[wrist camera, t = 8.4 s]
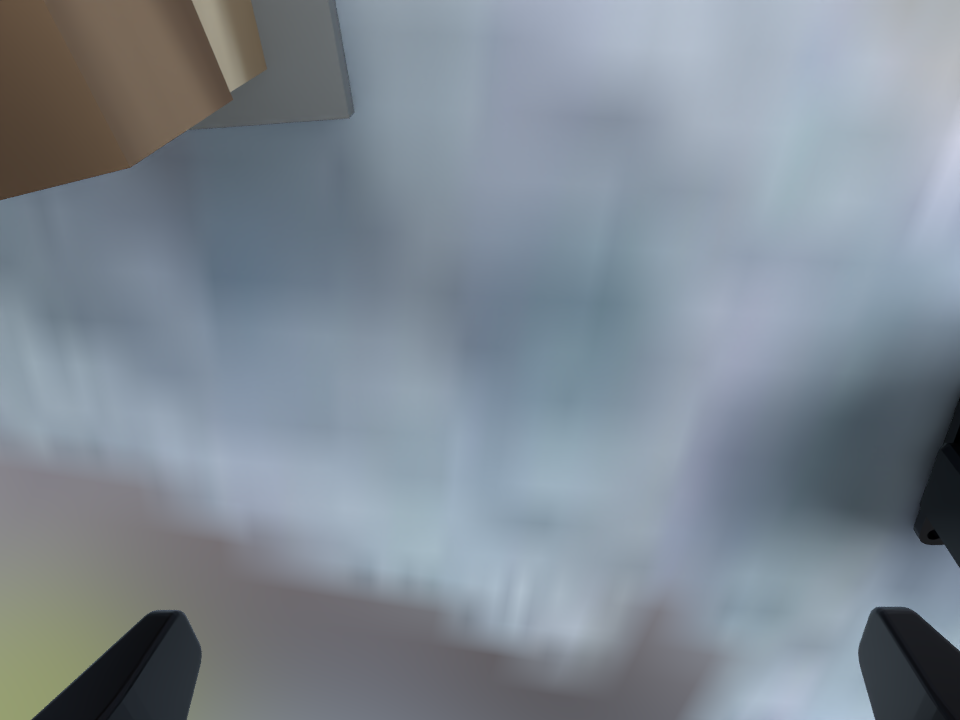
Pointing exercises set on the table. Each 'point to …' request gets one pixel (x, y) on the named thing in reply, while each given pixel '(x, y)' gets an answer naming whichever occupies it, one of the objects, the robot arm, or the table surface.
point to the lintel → (98, 86)
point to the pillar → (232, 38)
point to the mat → (292, 69)
